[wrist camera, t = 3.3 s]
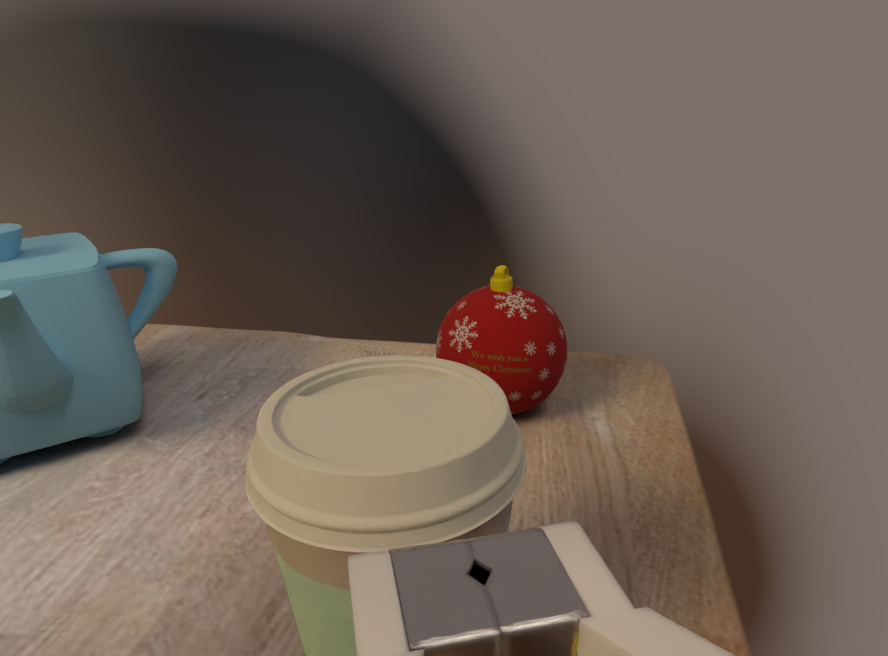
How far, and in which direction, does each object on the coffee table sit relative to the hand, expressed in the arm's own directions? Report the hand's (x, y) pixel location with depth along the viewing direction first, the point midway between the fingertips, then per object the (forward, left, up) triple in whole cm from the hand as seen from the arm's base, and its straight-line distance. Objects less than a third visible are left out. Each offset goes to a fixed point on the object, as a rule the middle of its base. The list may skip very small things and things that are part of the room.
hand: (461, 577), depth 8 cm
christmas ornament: (-18, -27, -15) cm, 36 cm away
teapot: (+10, -39, -15) cm, 43 cm away
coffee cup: (-3, -10, -15) cm, 19 cm away
